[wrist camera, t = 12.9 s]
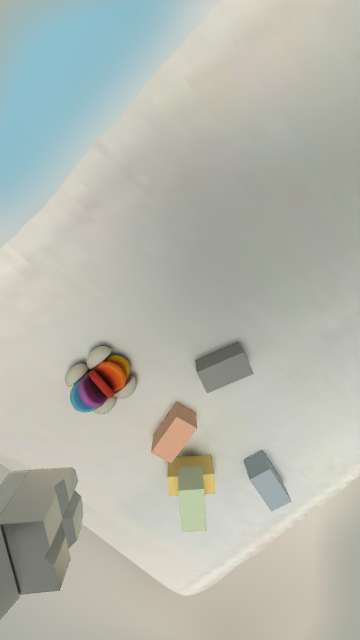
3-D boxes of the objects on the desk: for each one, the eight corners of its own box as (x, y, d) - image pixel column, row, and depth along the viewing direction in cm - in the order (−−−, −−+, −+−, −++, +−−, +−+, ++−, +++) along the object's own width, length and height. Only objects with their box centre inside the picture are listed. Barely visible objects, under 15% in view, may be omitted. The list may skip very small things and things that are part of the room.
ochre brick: (210, 454, 51) (213, 474, 46) (211, 472, 52) (215, 493, 47) (168, 457, 51) (167, 477, 46) (170, 474, 52) (169, 496, 47)
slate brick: (243, 459, 51) (249, 479, 47) (262, 449, 50) (269, 469, 46) (263, 489, 52) (271, 511, 48) (281, 479, 52) (291, 501, 48)
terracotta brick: (176, 401, 48) (176, 416, 44) (195, 411, 49) (197, 428, 44) (153, 434, 50) (151, 452, 45) (171, 444, 50) (171, 463, 46)
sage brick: (178, 467, 46) (178, 490, 42) (201, 465, 46) (204, 488, 42) (181, 505, 48) (182, 532, 43) (204, 504, 48) (207, 530, 43)
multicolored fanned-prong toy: (146, 376, 47) (141, 399, 40) (99, 412, 49) (86, 440, 42) (109, 335, 46) (97, 351, 39) (62, 373, 47) (42, 396, 40)
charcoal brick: (237, 341, 46) (244, 351, 42) (246, 361, 47) (253, 373, 42) (195, 360, 47) (197, 372, 42) (204, 379, 47) (207, 393, 43)
